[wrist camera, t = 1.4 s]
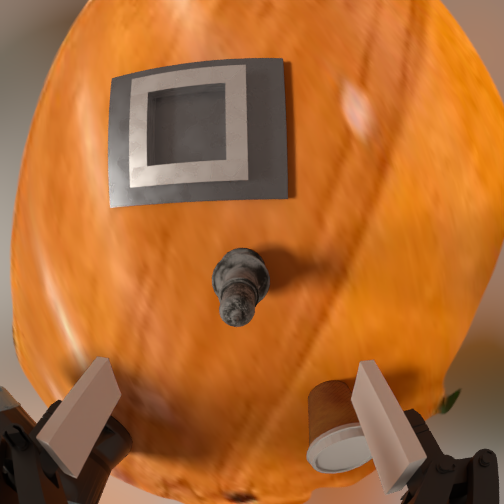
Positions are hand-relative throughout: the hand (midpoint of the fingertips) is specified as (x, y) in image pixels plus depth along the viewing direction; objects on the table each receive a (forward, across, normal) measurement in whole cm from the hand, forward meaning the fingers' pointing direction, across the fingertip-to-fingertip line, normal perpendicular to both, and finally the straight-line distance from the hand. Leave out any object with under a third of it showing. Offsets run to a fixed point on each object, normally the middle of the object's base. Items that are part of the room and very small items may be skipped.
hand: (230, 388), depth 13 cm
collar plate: (+19, +5, -16) cm, 26 cm away
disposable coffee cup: (+20, -12, +20) cm, 30 cm away
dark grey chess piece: (+20, 0, 0) cm, 20 cm away
